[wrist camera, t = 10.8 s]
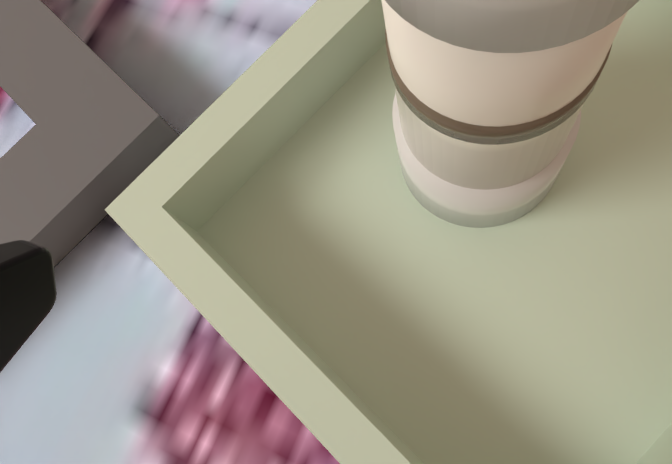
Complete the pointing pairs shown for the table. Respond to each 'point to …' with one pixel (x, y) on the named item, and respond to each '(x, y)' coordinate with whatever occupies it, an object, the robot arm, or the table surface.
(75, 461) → the table surface
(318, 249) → the tray
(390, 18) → the cream salt shaker
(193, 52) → the table surface
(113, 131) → the fuse holder
